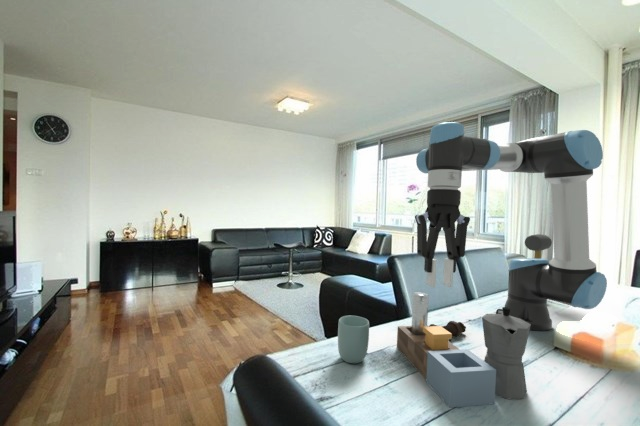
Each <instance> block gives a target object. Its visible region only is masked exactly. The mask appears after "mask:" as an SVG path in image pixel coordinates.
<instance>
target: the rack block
mask: <svg viewBox="0 0 640 426" xmlns="http://www.w3.org/2000/svg"><path fill="white" fill-rule="evenodd" d="M425 382H426V383H427V385H428V386H429V387H430V388H431V389H432V390H433V391H434V392H435V393H436V394H437V395H438V396H439V398H440V399H441V400H442V401H443V402H444V403H445V404H446V405H447V406H448V407H449V408H459V407H473V406H485V405H495V403H496V401H495V399H496V395H495V384H496V369H494V368H493V367H492V366H490V365H489V364H487V363H486V362H485V361H484V359H482V358H480V357H479V356H478V355H477V354H475V353H474V352H472V351H471V350H469V349H468V348H466V349H460V350H441V351H428V355H427V376H426V379H425Z"/></svg>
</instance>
